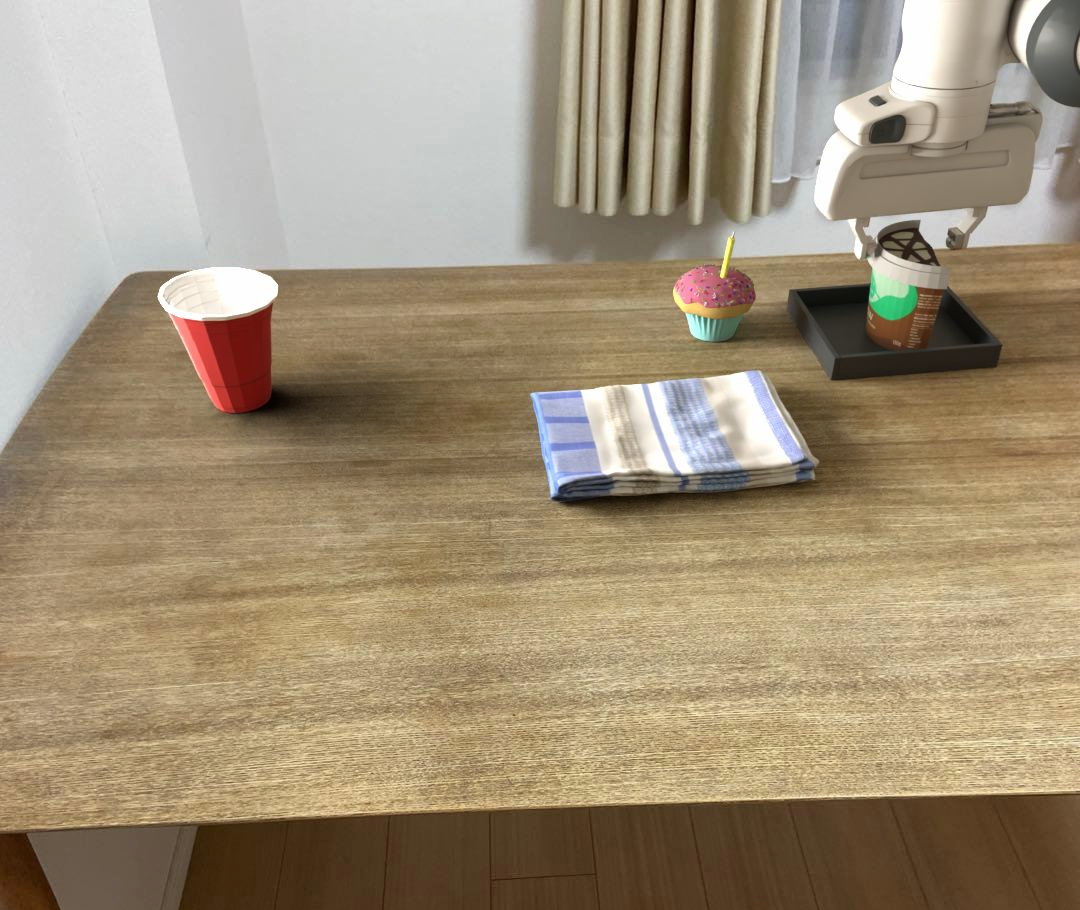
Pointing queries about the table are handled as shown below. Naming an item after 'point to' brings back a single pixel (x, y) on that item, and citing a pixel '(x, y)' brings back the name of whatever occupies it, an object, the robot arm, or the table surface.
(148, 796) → the table surface
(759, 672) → the table surface
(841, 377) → the tray
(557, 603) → the table surface
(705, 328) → the cupcake
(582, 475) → the dish towel
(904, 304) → the food container
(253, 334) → the plastic cup
